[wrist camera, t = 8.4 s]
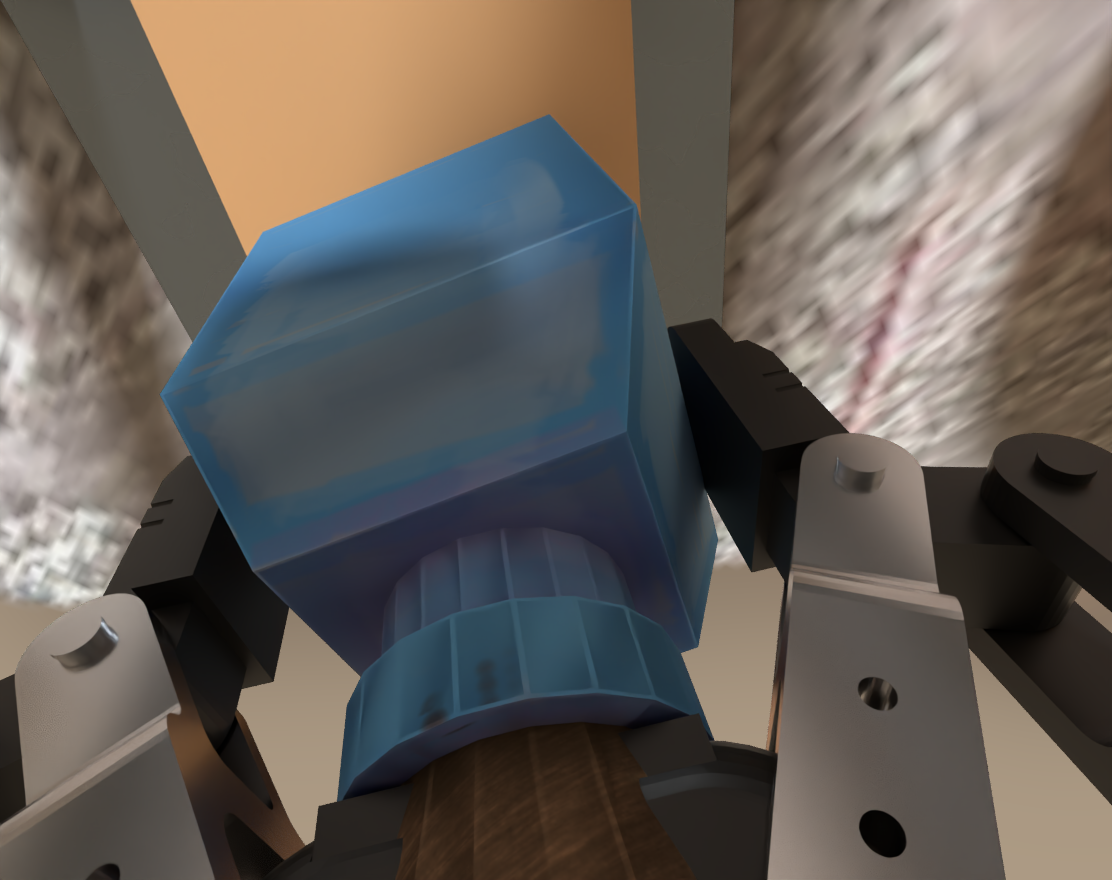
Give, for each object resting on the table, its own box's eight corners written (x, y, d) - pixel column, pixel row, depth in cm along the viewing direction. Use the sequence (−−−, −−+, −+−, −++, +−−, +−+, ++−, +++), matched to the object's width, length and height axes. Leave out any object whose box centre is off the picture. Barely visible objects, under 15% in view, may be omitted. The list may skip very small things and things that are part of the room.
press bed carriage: (120, -72, 12) (-53, -101, 8) (608, -150, 13) (708, -218, 8) (372, 503, 22) (359, 638, 18) (642, 445, 23) (697, 560, 18)
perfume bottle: (626, 366, 16) (931, 940, 6) (404, 451, 16) (381, 1115, 7) (549, 114, 12) (1019, 599, 3) (262, 232, 12) (-251, 1039, 3)
